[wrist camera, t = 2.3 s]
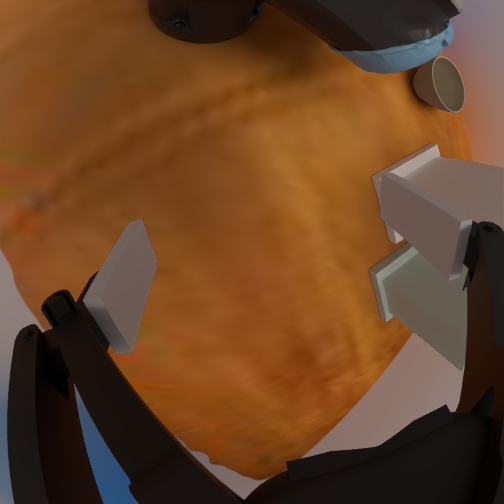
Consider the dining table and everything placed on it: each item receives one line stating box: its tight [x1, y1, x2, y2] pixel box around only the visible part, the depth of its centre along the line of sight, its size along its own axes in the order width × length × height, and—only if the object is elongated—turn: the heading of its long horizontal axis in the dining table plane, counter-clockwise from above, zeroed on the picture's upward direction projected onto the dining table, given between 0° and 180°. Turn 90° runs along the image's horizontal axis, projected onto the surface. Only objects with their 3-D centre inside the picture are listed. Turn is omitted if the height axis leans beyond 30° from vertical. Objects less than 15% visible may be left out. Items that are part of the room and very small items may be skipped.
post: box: [369, 242, 468, 372], centre depth 39 cm, size 16×12×22 cm
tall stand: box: [371, 144, 504, 244], centre depth 30 cm, size 16×12×30 cm
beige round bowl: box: [413, 56, 465, 113], centre depth 34 cm, size 10×10×7 cm
